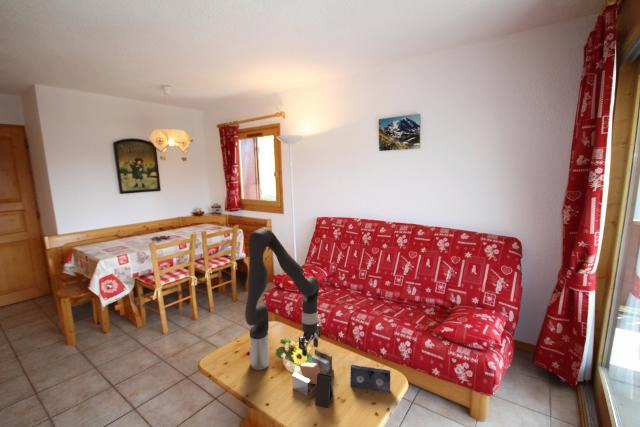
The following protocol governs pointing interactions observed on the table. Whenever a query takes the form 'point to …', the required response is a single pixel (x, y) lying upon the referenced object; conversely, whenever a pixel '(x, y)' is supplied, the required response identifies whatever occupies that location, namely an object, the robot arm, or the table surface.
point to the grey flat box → (301, 384)
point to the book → (310, 371)
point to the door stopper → (323, 390)
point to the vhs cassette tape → (370, 378)
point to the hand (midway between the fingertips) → (310, 351)
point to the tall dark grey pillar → (321, 367)
